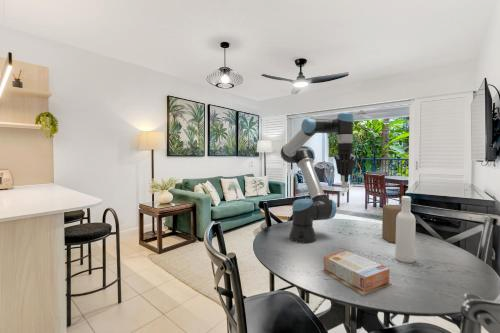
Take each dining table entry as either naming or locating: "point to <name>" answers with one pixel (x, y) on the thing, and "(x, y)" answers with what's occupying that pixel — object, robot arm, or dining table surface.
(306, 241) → the robot arm
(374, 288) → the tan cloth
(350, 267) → the cracker box
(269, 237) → the dining table surface
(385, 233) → the wooden block
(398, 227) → the bottle
